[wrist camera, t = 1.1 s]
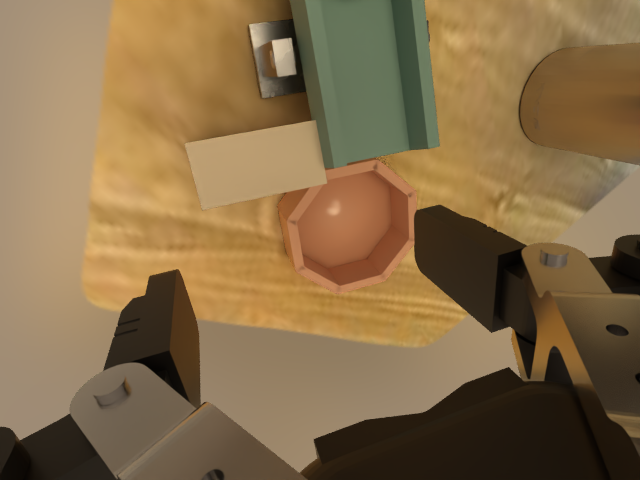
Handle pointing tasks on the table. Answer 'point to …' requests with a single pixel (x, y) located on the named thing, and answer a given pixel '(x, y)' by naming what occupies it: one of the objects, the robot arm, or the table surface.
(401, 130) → the chute
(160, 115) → the table surface
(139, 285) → the table surface
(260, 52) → the chute stand
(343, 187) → the pink octagonal bowl
